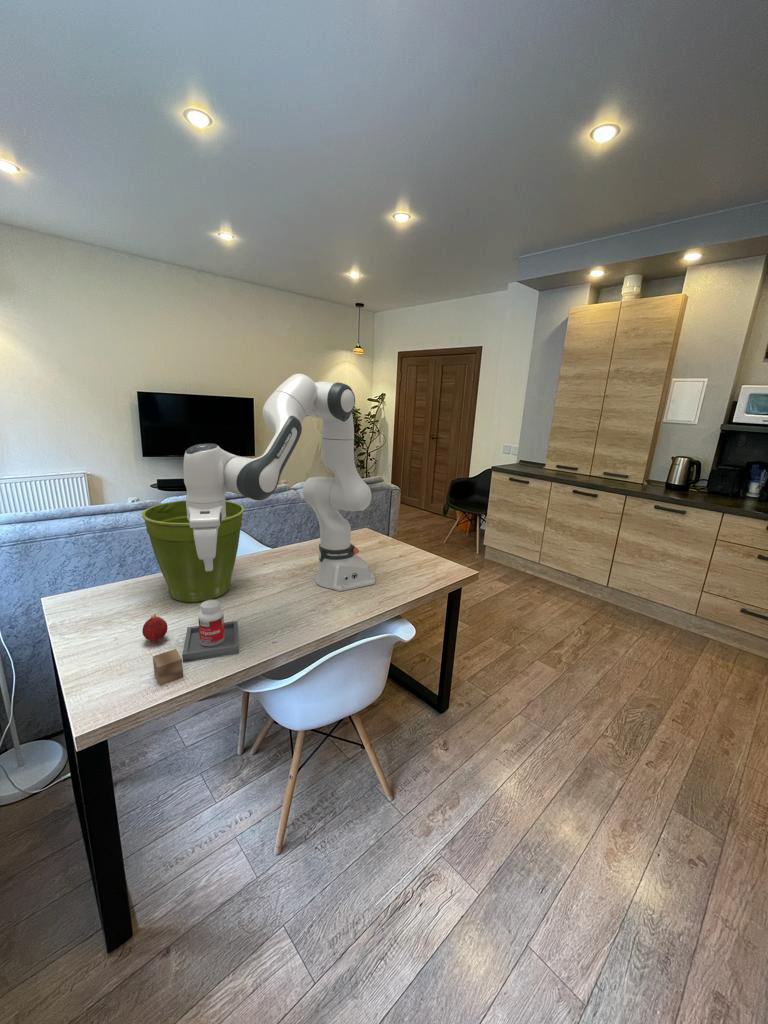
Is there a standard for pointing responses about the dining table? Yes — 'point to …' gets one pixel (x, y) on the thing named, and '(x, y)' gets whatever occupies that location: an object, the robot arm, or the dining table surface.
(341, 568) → the robot arm
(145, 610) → the dining table surface
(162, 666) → the walnut block
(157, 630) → the red round piece
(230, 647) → the tray
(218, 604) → the pill bottle
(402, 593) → the dining table surface
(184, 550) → the plant pot
